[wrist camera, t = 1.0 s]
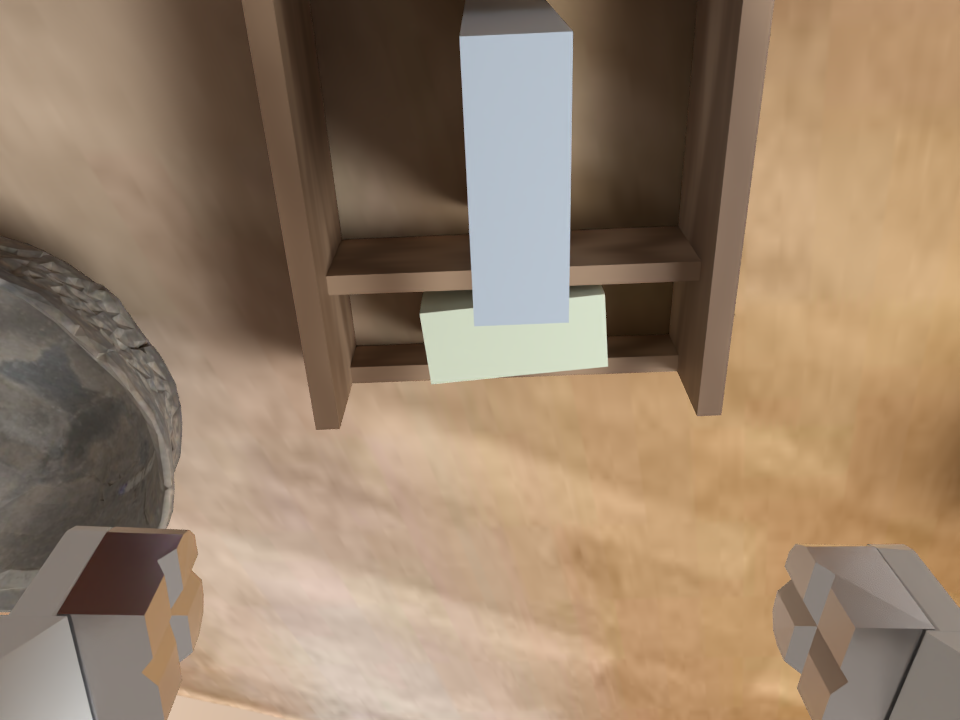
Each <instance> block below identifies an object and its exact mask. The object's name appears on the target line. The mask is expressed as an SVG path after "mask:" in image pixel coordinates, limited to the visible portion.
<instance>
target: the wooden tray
mask: <svg viewBox="0 0 960 720" xmlns="http://www.w3.org/2000/svg"><path fill="white" fill-rule="evenodd" d="M241 1H242V7H243V12H244V18H245V24H246V30H247V35H248V41H249V47H250V53H251V58H252V64H253V70H254V76H255V81H256V87H257V93H258V99H259V104H260V110H261V116H262V122H263V127H264V133H265V139H266V145H267V150H268V156H269V162H270V168H271V173H272V179H273V185H274V191H275V196H276V202H277V208H278V214H279V219H280V225H281V231H282V237H283V242H284V248H285V254H286V260H287V265H288V271H289V277H290V283H291V288H292V294H293V300H294V305H295V311H296V317H297V323H298V328H299V334H300V340H301V346H302V351H303V357H304V363H305V369H306V374H307V380H308V386H309V392H310V397H311V403H312V409H313V415H314V420H315V426H316V430H323V429H340V426H341V422H342V419H343V415H344V412H345V408H346V404H347V401H348V397H349V393H350V390H351V386H352V383H372V382H399V381H426V380H431V379H430V373H429V367H428V361H427V355H426V349H425V344H401V345H375V346H356V340H355V333H354V326H353V318H352V311H351V303H350V296H349V294H373V293H398V292H423V291H449V290H472V273H471V253H470V234H468V235H443V236H419V237H394V238H370V239H345V240H342V237H341V230H340V222H339V215H338V207H337V200H336V193H335V185H334V178H333V170H332V163H331V156H330V148H329V141H328V133H327V126H326V119H325V111H324V104H323V97H322V89H321V82H320V74H319V67H318V60H317V52H316V45H315V37H314V30H313V23H312V15H311V8H310V0H241ZM773 8H774V0H697V10H696V22H695V33H694V45H693V57H692V69H691V81H690V92H689V104H688V116H687V128H686V140H685V151H684V163H683V175H682V187H681V199H680V210H679V222H678V226H664V227H640V228H615V229H591V230H570V276H569V286H576V285H602V284H627V283H652V282H673V293H672V305H671V317H670V328H669V334H664V335H638V336H611V337H607V355H608V367H599V368H589V369H579V370H569V371H559V372H549V373H539V374H529V375H519V376H509V377H534V376H561V375H588V374H615V373H642V372H669V371H677V372H678V374H679V376H680V379H681V381H682V383H683V385H684V388H685V390H686V392H687V394H688V397H689V399H690V401H691V403H692V406H693V408H694V410H695V412H696V415H697V416H712V415H721V413H722V405H723V397H724V389H725V381H726V374H727V366H728V358H729V350H730V343H731V335H732V327H733V319H734V311H735V304H736V296H737V288H738V280H739V273H740V265H741V257H742V249H743V241H744V234H745V226H746V218H747V210H748V203H749V195H750V187H751V179H752V171H753V164H754V156H755V148H756V140H757V133H758V125H759V117H760V109H761V101H762V94H763V86H764V78H765V70H766V63H767V55H768V47H769V39H770V31H771V24H772V16H773ZM499 378H507V377H499Z"/></svg>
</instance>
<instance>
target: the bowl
mask: <svg viewBox="0 0 960 720" xmlns="http://www.w3.org/2000/svg"><path fill="white" fill-rule="evenodd" d="M181 439H182V415H181V405H180V402H179V396H178V393H177V389H176V384H175V382H174V380H173V378H172V376H171V374H170V372H169V370H168V368H167V366H166V364H165V363H164V361H163V359H162V357H161V356H160V354H159V353H158V352H157V350H156V349H155V348H154V347H153V346H152V345H151V344H150V342H149V341H148V340H147V338H146V337H145V336H144V334H143V333H142V332H141V330H140V329H139V327H138V326H137V325H136V323H135V322H134V321H133V319H132V318H131V316H130V315H129V313H128V312H127V311H126V309H125V308H124V306H123V305H122V303H121V301H120V300H119V299H118V298H117V297H116V296H114V295H113V294H112V293H111V292H110V291H109V290H108V289H106V288H105V287H104V286H103V285H99V284H96V283H95V282H94V281H92V280H91V279H89V278H88V277H87V276H85V275H84V274H83V273H81V272H80V271H78V270H77V269H75V268H74V267H72V266H70V265H69V264H67V263H66V262H64V261H62V260H60V259H58V258H56V257H54V256H52V255H50V254H48V253H46V252H45V251H43V250H40V249H38V248H36V247H33V246H31V245H29V244H27V243H22V242H19V241H15V240H12V239H9V238H6V237H1V236H0V612H11V611H12V609H13V608H14V606H15V605H16V603H17V602H18V601H19V599H20V598H21V596H22V595H23V593H24V592H25V590H26V589H27V587H28V586H29V585H30V583H31V582H32V580H33V579H34V577H35V576H36V574H37V573H38V571H39V570H40V569H41V567H42V566H43V564H44V563H45V561H46V560H47V558H48V557H49V555H50V554H51V553H52V551H53V550H54V548H55V547H56V545H57V544H58V542H59V541H60V539H61V538H62V537H63V535H64V534H65V532H66V531H67V530H69V529H71V528H73V527H75V526H97V527H112V528H114V527H133V528H155V529H166V528H167V526H168V524H169V521H170V518H171V515H172V512H173V503H174V472H175V469H176V466H177V464H178V461H179V458H180V453H181Z"/></svg>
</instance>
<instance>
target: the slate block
mask: <svg viewBox="0 0 960 720" xmlns="http://www.w3.org/2000/svg"><path fill="white" fill-rule="evenodd" d="M459 39H460V58H461V78H462V97H463V117H464V136H465V156H466V175H467V195H468V214H469V234H470V253H471V273H472V292H473V312H474V326H496V325H521V324H547V323H569V276H570V207H571V138H572V69H573V31H572V30H571V28H570V27H569V26H568V25H567V24H566V23H565V22H564V21H563V19H562V18H561V17H560V16H559V15H558V14H557V13H556V11H555V10H554V9H553V8H552V7H551V6H550V5H549V3H548V2H547V1H546V0H465V6H464V12H463V18H462V24H461V30H460V36H459Z"/></svg>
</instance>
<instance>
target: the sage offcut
mask: <svg viewBox="0 0 960 720" xmlns="http://www.w3.org/2000/svg"><path fill="white" fill-rule="evenodd" d="M420 320H421V326H422V331H423V337H424V343H425V349H426V355H427V361H428V367H429V373H430V379H431V384H439V383H449V382H459V381H469V380H479V379H489V378H499V377H509V376H519V375H529V374H539V373H549V372H559V371H569V370H579V369H589V368H599V367H608V355H607V332H606V308H605V293H604V290H603V287H602V285H576V286H569V323H547V324H521V325H496V326H474V312H473V292H472V290H449V291H423V295H422V301H421V308H420Z"/></svg>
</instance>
